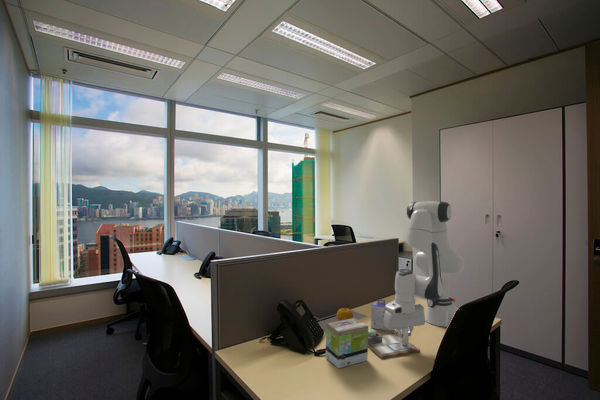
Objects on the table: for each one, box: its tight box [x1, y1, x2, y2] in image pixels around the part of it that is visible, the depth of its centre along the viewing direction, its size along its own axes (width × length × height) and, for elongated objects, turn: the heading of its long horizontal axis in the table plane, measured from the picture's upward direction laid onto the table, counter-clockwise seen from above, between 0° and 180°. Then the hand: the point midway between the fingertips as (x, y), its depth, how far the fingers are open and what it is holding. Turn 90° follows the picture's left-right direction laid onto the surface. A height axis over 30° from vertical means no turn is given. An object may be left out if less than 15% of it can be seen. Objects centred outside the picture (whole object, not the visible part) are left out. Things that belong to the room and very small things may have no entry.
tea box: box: [325, 317, 369, 369], centre depth 121 cm, size 15×10×15 cm
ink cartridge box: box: [370, 298, 391, 332], centre depth 152 cm, size 10×6×14 cm, turn 66°
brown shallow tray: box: [368, 331, 421, 360], centre depth 132 cm, size 20×18×4 cm
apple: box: [336, 307, 354, 321], centre depth 155 cm, size 9×9×9 cm
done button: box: [368, 328, 377, 337], centre depth 135 cm, size 4×4×3 cm
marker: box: [400, 327, 409, 347], centre depth 130 cm, size 3×3×10 cm
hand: (404, 336), depth 130 cm, fingers closed on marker, 3 cm apart
